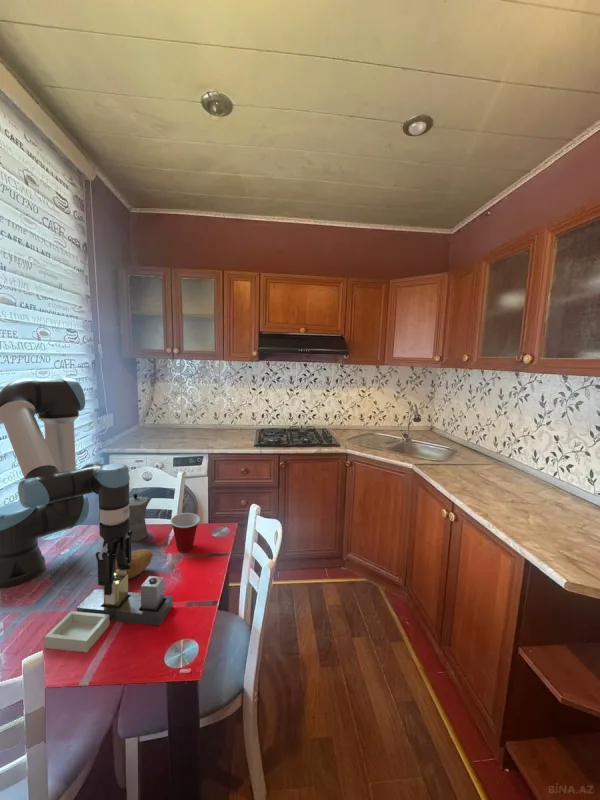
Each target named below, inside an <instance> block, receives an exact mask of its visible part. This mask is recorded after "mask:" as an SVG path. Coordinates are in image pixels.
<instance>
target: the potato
mask: <svg viewBox="0 0 600 800" xmlns="http://www.w3.org/2000/svg"><path fill="white" fill-rule="evenodd" d="M127 559H128V558H127ZM152 559H153V552H152V551H150V550H149V549H144V548H141V549H137V550H131V563H128V565H130V569H126V574H128V580H129V579H134V578H135V577H136V576H138V575H139V574H141V573H142V572H143V571H145V569H147V567H148V566H149V565H150V564H151V561H152ZM117 569H119V568H118V566H117V561H116V563H115V572H114V573H116V570H117Z"/></svg>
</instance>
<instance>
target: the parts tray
mask: <svg viewBox="0 0 600 800" xmlns="http://www.w3.org/2000/svg"><path fill="white" fill-rule="evenodd" d="M109 627H110V621H109V615H108V614H97V613H87V612H77V610H76V611H74V610H71V611H69V612H68V613H67V615H65V617H63V618H62V619H61V620H60V621H59V622H58V623H57V624H55V626H54V627H52V629H51V630H49V632H48V633H47V634H46V635H45V636H44V648H45V649H51V650H58V651H61V650H62V651H70V652H81V653H88V652H89V651H90V650H91V648H92V647H93V646H94V645H95V643H97V640H99V639H100V637H101V636H102V634H104V633H105V631H106V630H107V629H108V628H109Z"/></svg>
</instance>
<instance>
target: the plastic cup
mask: <svg viewBox="0 0 600 800" xmlns="http://www.w3.org/2000/svg"><path fill="white" fill-rule="evenodd" d="M200 520H201V518H200V516H199V515H198V514H196V513H192V512H183V513H178V514H175V515H174V516H172V517H171V518H170V523H171V526H172V529H173V535H174V541H175V545H176V549H177V551H179V552H184V553H185V552H189V551H191V550H192V549H193V547H194V541H195V538H196V533H197V527H198V525H199V523H200Z"/></svg>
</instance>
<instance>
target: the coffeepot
mask: <svg viewBox="0 0 600 800" xmlns="http://www.w3.org/2000/svg"><path fill="white" fill-rule="evenodd" d="M132 495H133V496H132V497H129V509H130V512H129V517H128V518H129V519H130V530H129V531H132V536H131V543H132V542H139V541H141V540H144V539H146V538H147V537H148V530H147V528H148V527H147V523H146V513H147V507H148V505H149V503H150V502H151V500H152V499H153V498H152V497H150V496H147V497H146V496H144V497H143V496H138V493H133V494H132Z"/></svg>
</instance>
